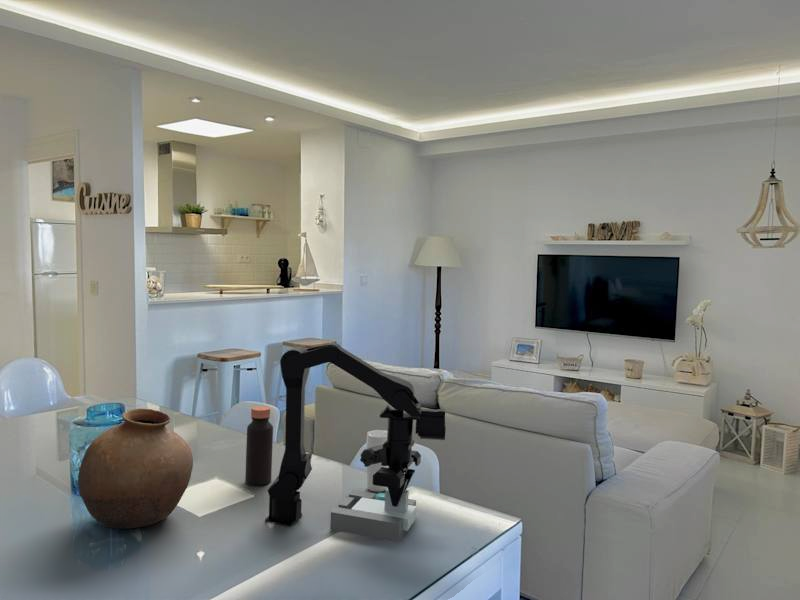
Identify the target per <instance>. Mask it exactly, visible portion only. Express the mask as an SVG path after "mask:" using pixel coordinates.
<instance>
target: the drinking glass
mask: <svg viewBox="0 0 800 600" xmlns="http://www.w3.org/2000/svg"><path fill="white" fill-rule="evenodd" d="M386 441H387V430H385V429H384V430H383V429H374V430H369V431H367V435H366V448H365V449H367V448H370V447H374V446H379V445H383V443H384V442H386ZM381 467H384V468H389V466H382V465H381V463H377V464H372V465H370V466H367V467H366V471H367V472H366V473H367V485H366V486H367V489H368V490H369V491H371V492H373V493H376V492H377V493H382V492H385V490H386V489H387V488H388V487H383V486H377V485H373V475H374V474H375V473H376V472H377V471H378V470H379V469H380V468H381Z"/></svg>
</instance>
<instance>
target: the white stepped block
mask: <svg viewBox="0 0 800 600" xmlns="http://www.w3.org/2000/svg"><path fill="white" fill-rule="evenodd" d="M384 493H385V501H382V500H375V499H369V498H363V497H362V498H361V499H360V500H359V501H358V502H357V503H356V504H355V505H354V506H353V507H352V509H351V510H357V511H363V512H368V513H374V514H380V515H386V516H392V517H397V518H403V530H405V531H406V532H408V531H409V529H410V527H412V525H413V523H414V522H415V520H416V519H417V508H418V507H417V505H416V506H412V505H408V499H409V495H410V494H409V493H410V491H409V490H407V489H406V490H404V491H403V494H402V496H401V499H400V501H399V503H398V506H397V507H395V506H392V502H391V498H390V494H389V490H388V487H387V489H386V490H384Z"/></svg>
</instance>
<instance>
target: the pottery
mask: <svg viewBox="0 0 800 600" xmlns="http://www.w3.org/2000/svg"><path fill="white" fill-rule="evenodd" d="M121 418H122V420H123V422H122V423H120V424H117V425H115V426H113V427H110V428H108V429H106V430H105V431H104V432H102V433H100V434H99V435H98V436H97V437H95V438H94V439H93V440H92V442H91V443H90V444H89V446H88V447H87V448H86V450H85V451H84V455H83V457H82V460H81V463H80V467H79V471H78V475H77V485H78V491H79V494H80V497H81V499H82V503H83V504H84V505H85V508H86V510H87V512H88V513H89V514H90V516H91V518H92V519H94V520H95V521H96V522H98V523H100V524H101V525H103V526H105V527H108V528H112V529H123V530H124V529H127V530H129V529H137V528H143V527H148V526H151V525H154V524H156V523H158V522H161V521H162V520H164V519H167V518H168V516H170V515H171V514H172V512H174V510H175V509H176V508H177V505H178V504H179V503H180V501H181V499H182V497H183V496H184V494H185V491H186V490H187V489H188V485H189V483H190V480H191V476H192V473H193V472H192V471H193V467H194V456H193V452H192V449H191V448H190V446H189V444H188V443H187V441H185V439H184V438H183V437H182V436H181V435H179V433H177V432H175V431H174V430H172V429H171V428H169V427H167V426H166V425H168V424H170V422H171V417H170V415H168V413H165V412H163V411H160V410H155V409H150V408H135V409H130V410H127V411H124V412H123V413H122V414H121Z"/></svg>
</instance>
